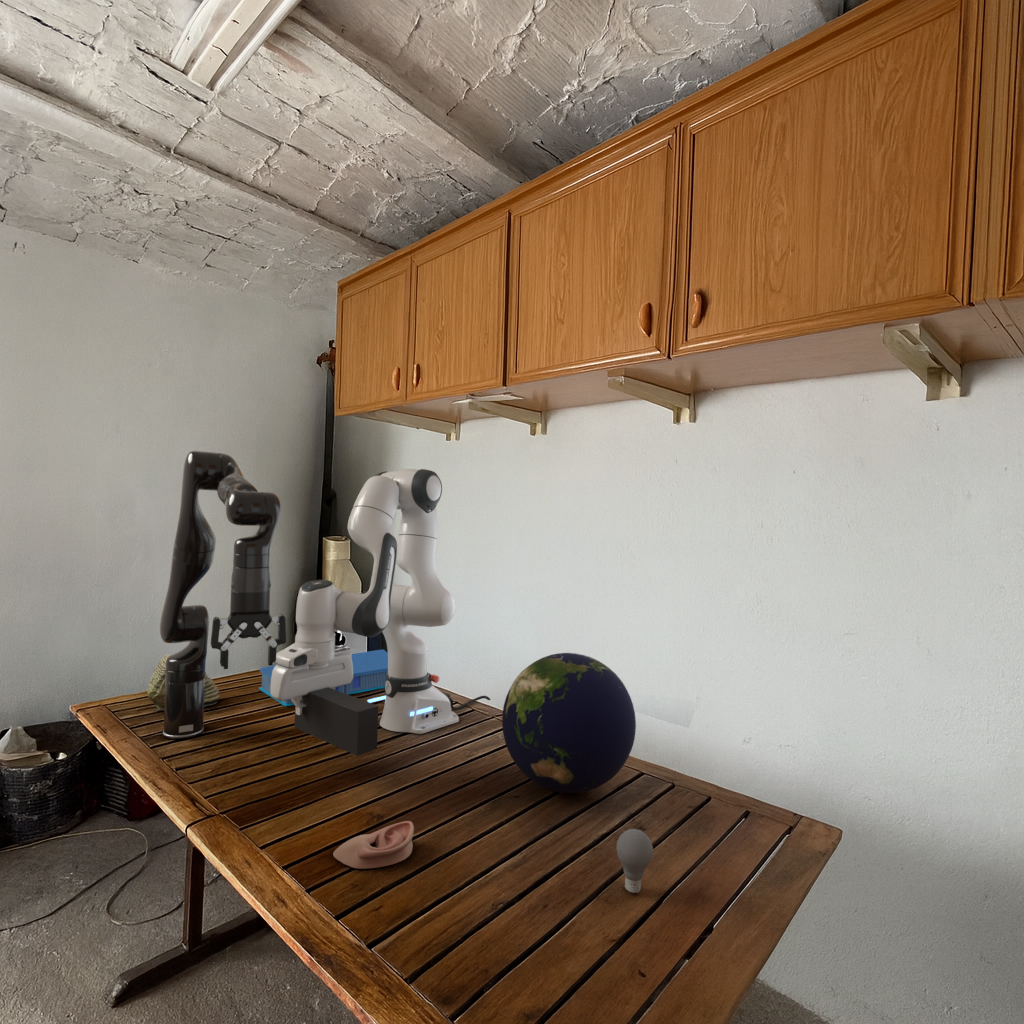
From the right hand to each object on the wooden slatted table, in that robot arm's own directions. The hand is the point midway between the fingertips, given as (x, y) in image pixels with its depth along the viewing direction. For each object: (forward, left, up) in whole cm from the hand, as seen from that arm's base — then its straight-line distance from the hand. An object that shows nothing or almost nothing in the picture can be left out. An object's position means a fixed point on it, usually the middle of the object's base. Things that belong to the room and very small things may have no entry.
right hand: (313, 710), depth 147 cm
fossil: (+16, -60, -14) cm, 64 cm away
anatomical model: (+3, +40, -14) cm, 42 cm away
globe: (-44, +39, -14) cm, 61 cm away
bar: (-2, +8, -4) cm, 9 cm away
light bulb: (-28, +74, -14) cm, 80 cm away
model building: (-27, -56, -14) cm, 63 cm away
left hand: (+17, +7, +14) cm, 23 cm away
